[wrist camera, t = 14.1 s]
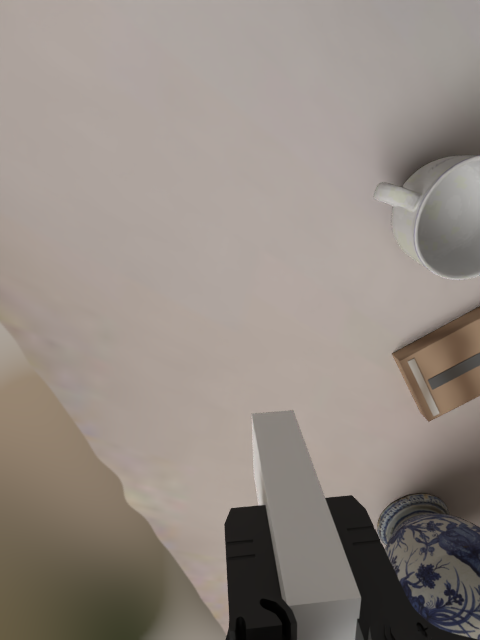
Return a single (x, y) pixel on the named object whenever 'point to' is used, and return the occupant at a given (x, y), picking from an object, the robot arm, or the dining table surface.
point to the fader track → (443, 366)
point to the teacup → (439, 216)
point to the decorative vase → (435, 561)
